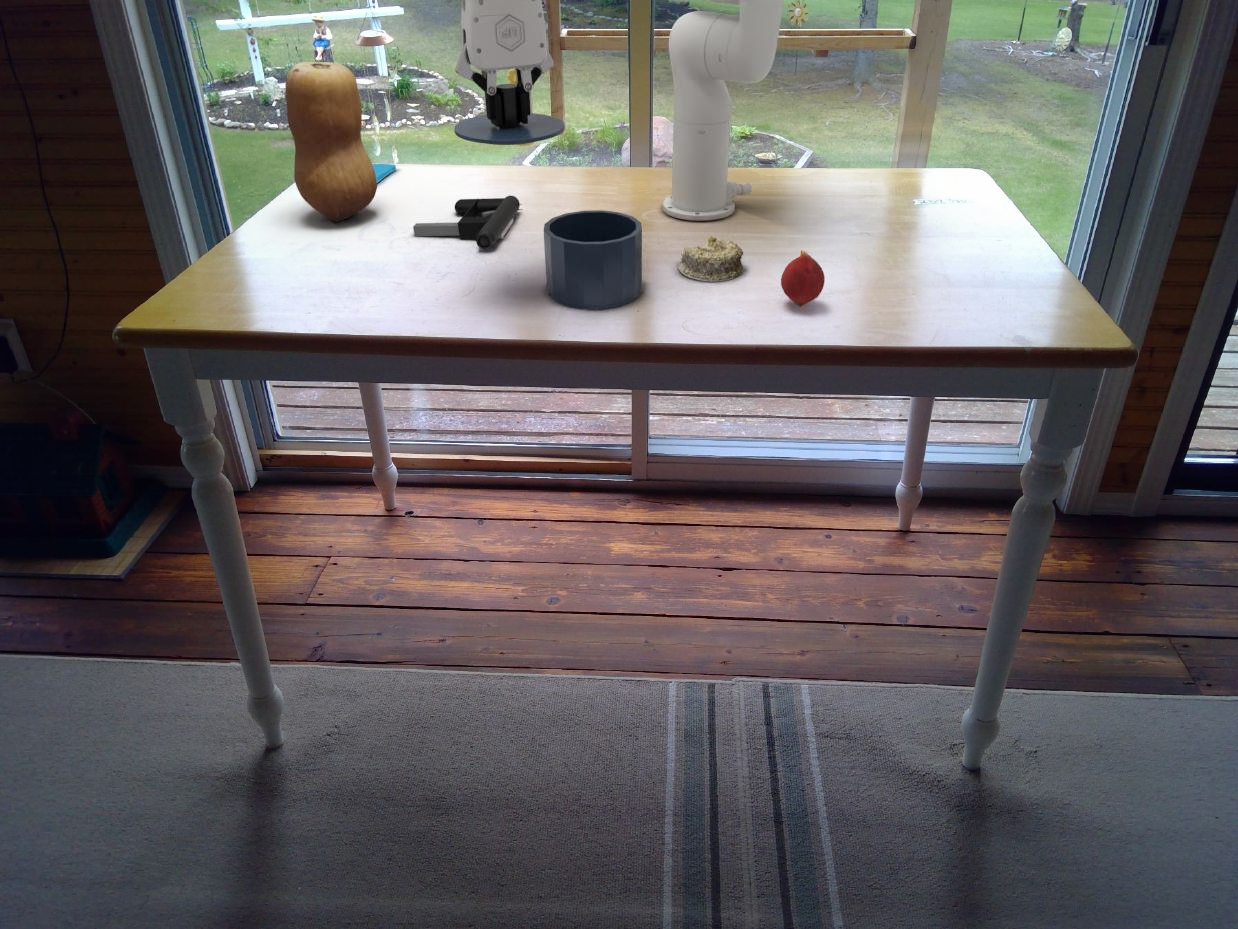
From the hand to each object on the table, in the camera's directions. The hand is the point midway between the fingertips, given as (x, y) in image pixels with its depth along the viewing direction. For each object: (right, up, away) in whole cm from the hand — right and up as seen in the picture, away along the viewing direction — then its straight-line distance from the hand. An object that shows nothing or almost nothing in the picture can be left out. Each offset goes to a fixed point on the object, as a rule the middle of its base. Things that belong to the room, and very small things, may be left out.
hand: (509, 121), depth 124 cm
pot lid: (0, -1, +1) cm, 1 cm away
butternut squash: (-34, -2, +39) cm, 52 cm away
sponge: (-34, +10, +58) cm, 68 cm away
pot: (+11, -20, +12) cm, 26 cm away
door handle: (-11, -6, +33) cm, 36 cm away
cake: (+28, -16, +18) cm, 37 cm away
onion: (+40, -23, +7) cm, 47 cm away
